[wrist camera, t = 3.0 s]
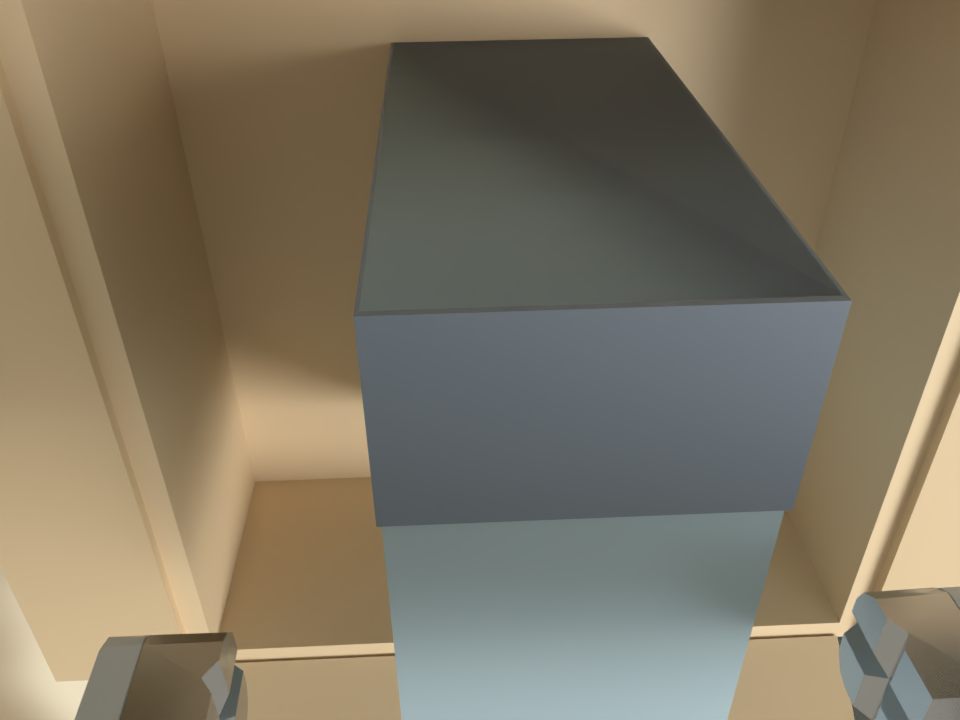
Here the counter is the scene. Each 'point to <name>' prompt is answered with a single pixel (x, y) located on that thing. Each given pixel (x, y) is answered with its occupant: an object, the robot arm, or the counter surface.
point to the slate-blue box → (578, 382)
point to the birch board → (29, 671)
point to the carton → (331, 301)
